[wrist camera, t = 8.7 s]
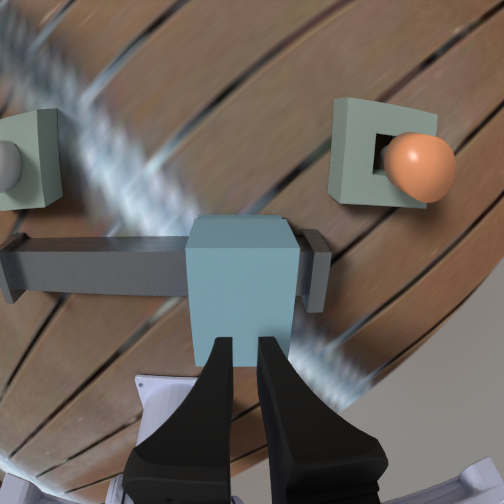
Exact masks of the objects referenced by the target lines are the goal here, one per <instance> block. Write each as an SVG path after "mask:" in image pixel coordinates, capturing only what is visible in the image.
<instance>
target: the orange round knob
mask: <svg viewBox="0 0 504 504" xmlns="http://www.w3.org/2000/svg"><path fill="white" fill-rule="evenodd" d="M381 160H382V161H383V163H384V169H385V173H386V176H387V178H388V180H389V182H390V183H391V184H392V185H393V186H394V187H395V188H397V189H398V190H400V191H402V192H404V193H406V194H407V195H409V196H411V197H413V198H415V199H416V200H418V201H421V202H424V203H432V202H435V201H438V200H440V199H441V198H443V197H444V196H445V195H446V194H447V193H448V191H449V190H450V188H451V187H452V185H453V182H454V179H455V175H456V161H455V157H454V154H453V152H452V150H451V148H450V146H449V145H448V144H447V143H446V142H445V141H444V140H442V139H441V138H438V137H435V136H431V135H426V134H420V133H415V132H405V133H401V134H399V135H398V136H396V137H395V138H394V139H393V140H392V141H391V142H390V144H389V145H387V146H385V147H384V148H383V149H382V151H381Z"/></svg>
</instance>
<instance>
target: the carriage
mask: <svg viewBox="0 0 504 504" xmlns="http://www.w3.org/2000/svg"><path fill="white" fill-rule="evenodd" d="M185 251H186V267H187V281H188V293H189V305H190V316H191V327H192V337H193V347H194V356H195V364H196V366H205V364H206V362H207V360H208V358H209V355H210V353H211V350H212V347H213V344H214V340H215V338H217V337H233V367H238V366H257V353H258V337H264V336H274V337H275V338H276V340H277V342H278V344H279V346H280V348H281V349H282V351H283V353H284V354H285V356H286V358H287V359H288V353H289V345H290V337H291V329H292V321H293V312H294V303H295V294H296V284H297V275H298V265H299V254H300V247H299V245H298V243H297V241H296V239H295V237H294V235H293V233H292V231H291V229H290V226H289V224H288V222H287V220H286V219H282V217H281V215H198V218H197V219H195V220H194V223H193V226H192V229H191V232H190V235H189V238H188V241H187V244H186V248H185Z"/></svg>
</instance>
